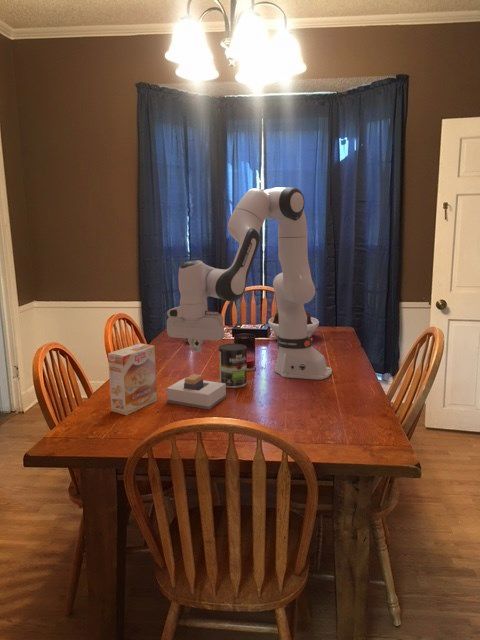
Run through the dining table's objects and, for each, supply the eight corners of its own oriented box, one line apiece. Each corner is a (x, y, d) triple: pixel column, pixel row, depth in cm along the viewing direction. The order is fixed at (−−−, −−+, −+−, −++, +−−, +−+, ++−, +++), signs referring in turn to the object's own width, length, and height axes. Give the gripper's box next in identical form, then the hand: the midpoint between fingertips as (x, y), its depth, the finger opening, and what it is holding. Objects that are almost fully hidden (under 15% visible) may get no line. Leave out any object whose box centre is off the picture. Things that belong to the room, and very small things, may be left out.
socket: (225, 397, 174) (225, 383, 173) (209, 409, 164) (208, 394, 162) (185, 391, 181) (185, 377, 180) (167, 402, 170) (166, 388, 169)
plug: (203, 394, 174) (202, 375, 172) (194, 400, 168) (194, 380, 167) (193, 393, 175) (192, 373, 174) (184, 398, 170) (183, 379, 169)
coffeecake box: (126, 415, 159) (122, 356, 155) (110, 411, 163) (106, 353, 159) (158, 400, 172) (155, 345, 168) (142, 397, 176) (139, 342, 171)
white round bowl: (322, 345, 240) (322, 314, 237) (269, 345, 241) (269, 314, 237) (315, 332, 265) (315, 304, 261) (267, 333, 265) (267, 305, 262)
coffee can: (252, 385, 186) (251, 348, 183) (226, 390, 181) (226, 352, 178) (239, 377, 195) (238, 341, 192) (214, 381, 190) (214, 345, 187)
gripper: (226, 310, 164) (228, 351, 167) (173, 307, 173) (176, 346, 176) (217, 314, 159) (220, 356, 162) (162, 311, 167) (166, 351, 170)
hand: (196, 351), depth 169 cm, fingers closed
